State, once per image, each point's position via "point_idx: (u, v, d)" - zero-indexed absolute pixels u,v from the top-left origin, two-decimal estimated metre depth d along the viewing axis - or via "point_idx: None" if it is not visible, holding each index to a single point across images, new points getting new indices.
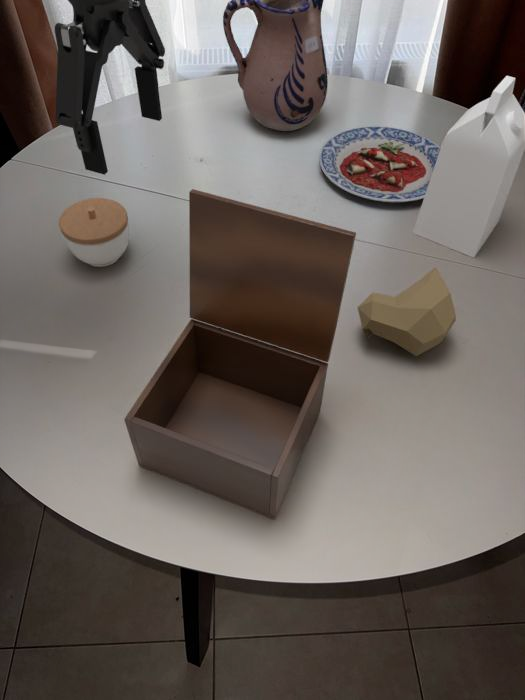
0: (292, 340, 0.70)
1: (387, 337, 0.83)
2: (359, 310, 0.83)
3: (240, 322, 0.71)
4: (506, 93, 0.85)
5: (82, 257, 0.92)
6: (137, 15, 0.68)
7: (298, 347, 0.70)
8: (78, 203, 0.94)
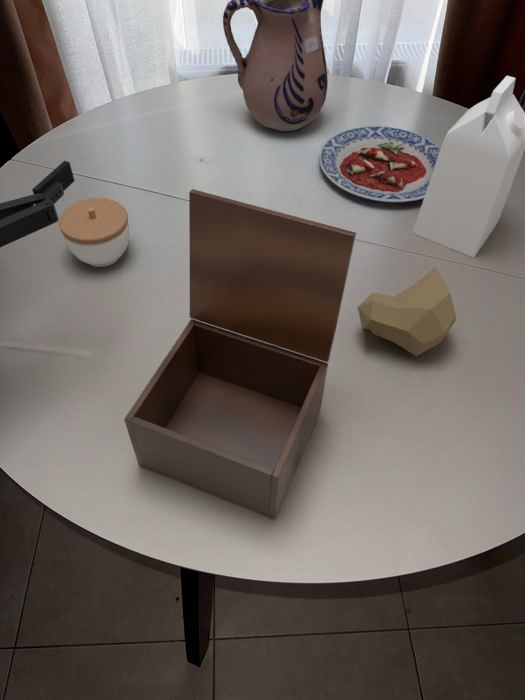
0: (292, 340, 0.70)
1: (387, 337, 0.83)
2: (359, 310, 0.83)
3: (240, 322, 0.71)
4: (506, 93, 0.85)
5: (82, 257, 0.92)
6: None
7: (298, 347, 0.70)
8: (78, 203, 0.94)
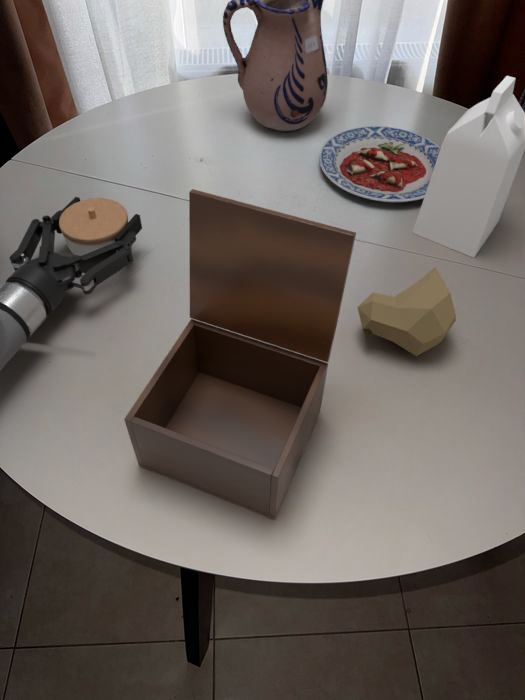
0: (292, 340, 0.70)
1: (387, 337, 0.83)
2: (359, 310, 0.83)
3: (240, 322, 0.71)
4: (506, 93, 0.85)
5: None
6: None
7: (298, 347, 0.70)
8: (78, 203, 0.94)
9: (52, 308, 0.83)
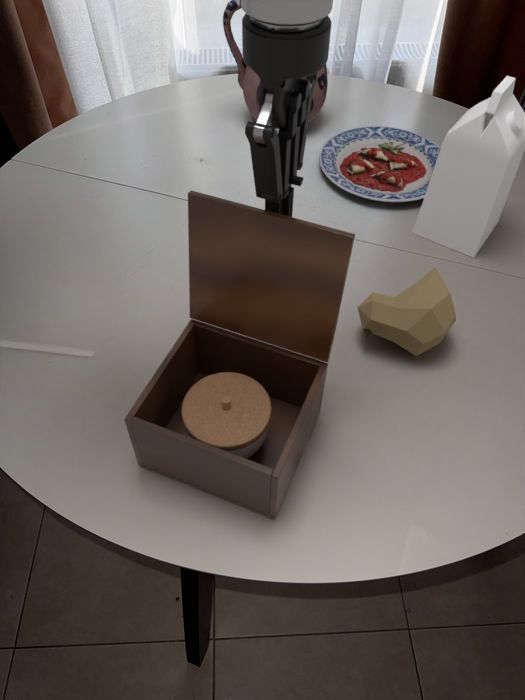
0: (292, 340, 0.70)
1: (387, 337, 0.83)
2: (359, 310, 0.83)
3: (240, 322, 0.71)
4: (506, 93, 0.85)
5: None
6: None
7: (298, 347, 0.70)
8: (202, 382, 0.71)
9: None
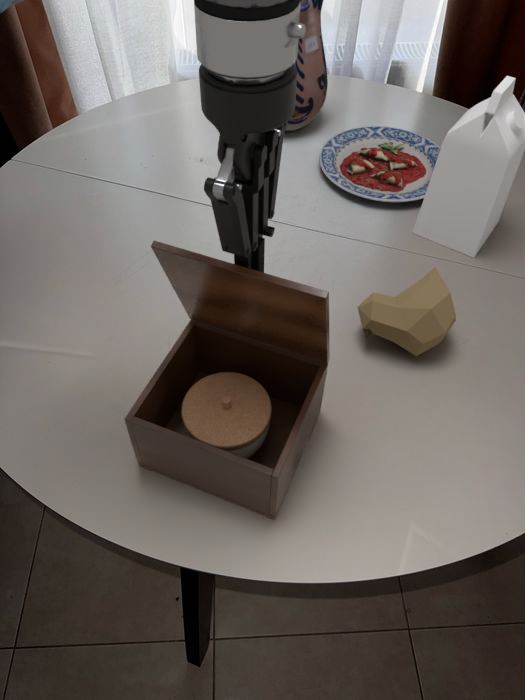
0: (289, 346, 0.69)
1: (387, 337, 0.83)
2: (359, 310, 0.83)
3: (237, 329, 0.71)
4: (506, 93, 0.85)
5: None
6: None
7: (297, 351, 0.70)
8: (202, 382, 0.71)
9: None
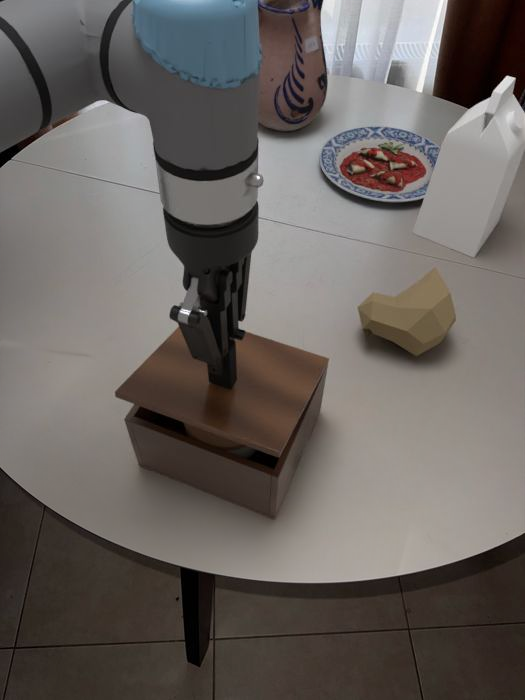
0: None
1: (387, 337, 0.83)
2: (359, 310, 0.83)
3: None
4: (506, 93, 0.85)
5: None
6: None
7: None
8: None
9: None
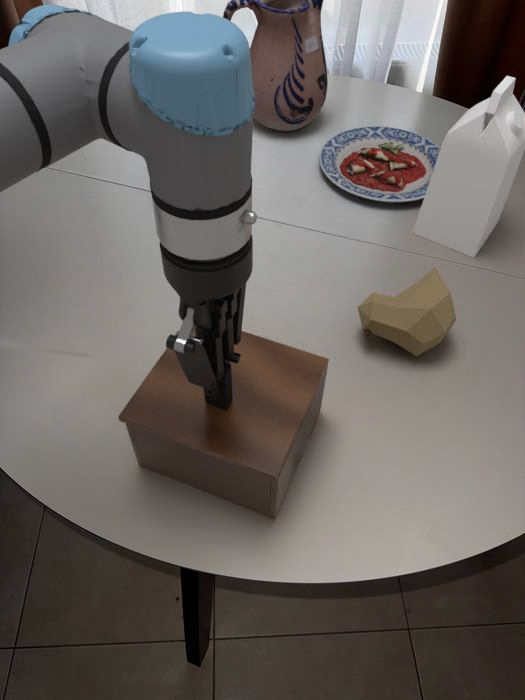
0: None
1: (387, 337, 0.83)
2: (359, 310, 0.83)
3: None
4: (506, 93, 0.85)
5: None
6: None
7: None
8: None
9: None
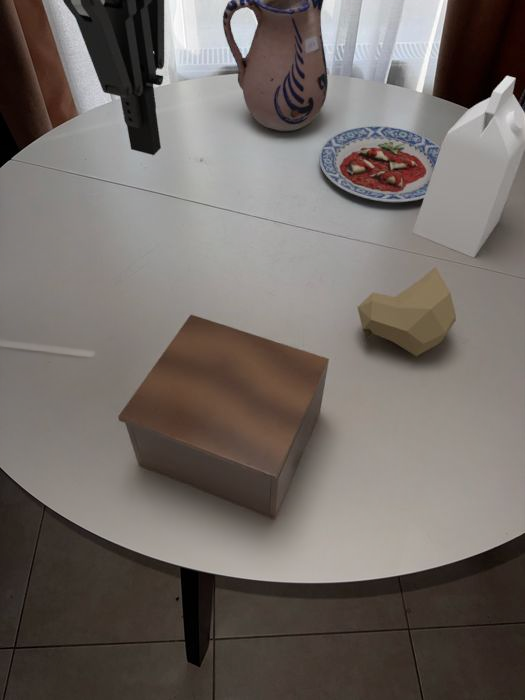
0: None
1: (387, 337, 0.83)
2: (359, 310, 0.83)
3: None
4: (506, 93, 0.85)
5: None
6: None
7: None
8: None
9: None
